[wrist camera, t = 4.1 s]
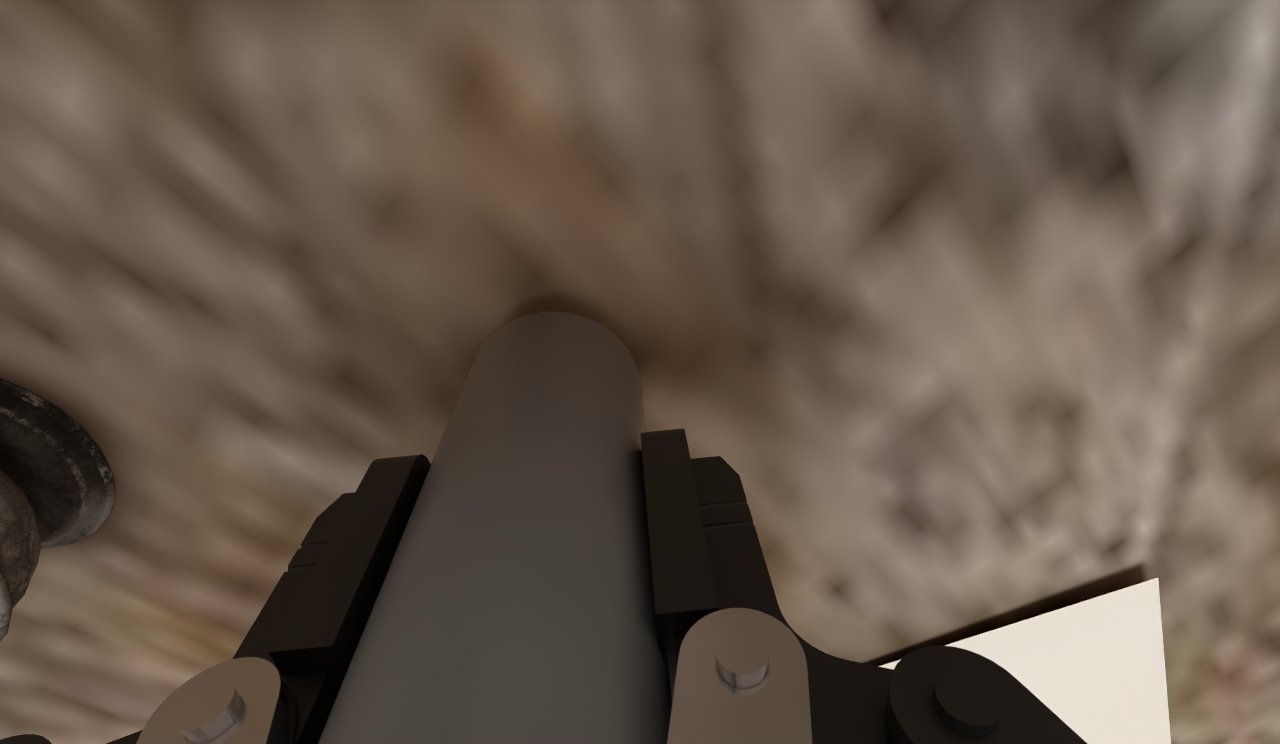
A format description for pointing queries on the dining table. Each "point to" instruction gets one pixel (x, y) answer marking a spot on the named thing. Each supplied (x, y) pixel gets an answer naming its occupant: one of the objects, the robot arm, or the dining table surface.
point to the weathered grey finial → (43, 488)
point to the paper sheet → (1091, 664)
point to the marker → (522, 563)
